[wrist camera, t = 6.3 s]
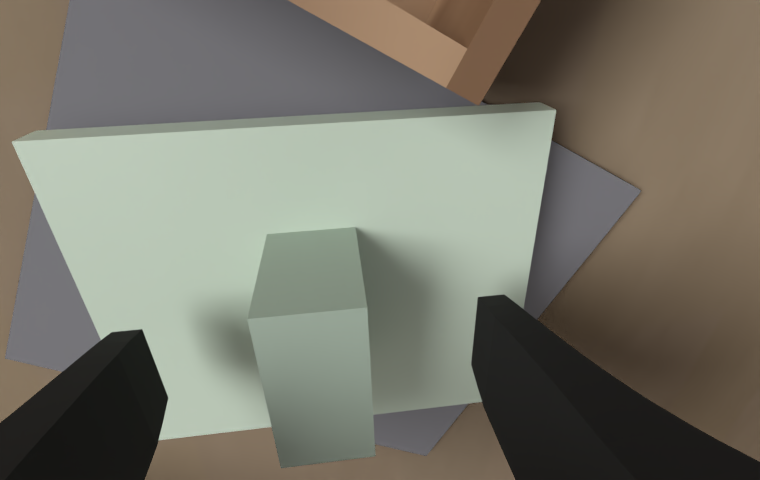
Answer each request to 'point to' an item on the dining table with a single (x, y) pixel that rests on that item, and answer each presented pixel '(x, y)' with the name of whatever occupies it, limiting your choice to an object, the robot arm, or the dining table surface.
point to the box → (435, 35)
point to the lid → (299, 257)
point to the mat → (262, 100)
